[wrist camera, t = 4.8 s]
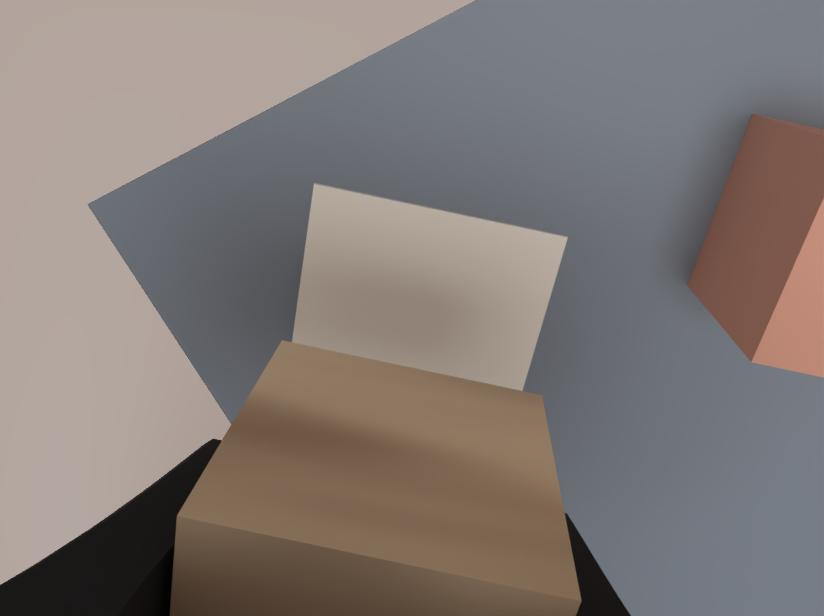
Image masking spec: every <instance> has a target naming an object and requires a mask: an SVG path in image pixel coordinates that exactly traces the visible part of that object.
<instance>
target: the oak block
mask: <svg viewBox="0 0 824 616" xmlns="http://www.w3.org/2000/svg"><path fill="white" fill-rule="evenodd" d="M580 604H581V596H580V590H579V585H578V580H577V575H576V570H575V564H574V559H573V554H572V549H571V544H570V538H569V533H568V528H567V523H566V517H565V512H564V507H563V502H562V497H561V491H560V486H559V481H558V476H557V471H556V465H555V460H554V455H553V450H552V445H551V439H550V434H549V429H548V424H547V418H546V413H545V408H544V403H543V398H542V395H539V394H534V393H530V392H525V391H520V390H515V389H511V388H506V387H501V386H496V385H492V384H487V383H482V382H477V381H473V380H468V379H463V378H459V377H454V376H449V375H444V374H440V373H435V372H430V371H425V370H421V369H416V368H411V367H406V366H402V365H397V364H392V363H387V362H383V361H378V360H373V359H368V358H364V357H359V356H354V355H349V354H345V353H340V352H335V351H330V350H326V349H321V348H316V347H312V346H307V345H302V344H297V343H293V342H288V341H283V340H282V341H281V343H280V344H279V346H278V348H277V350H276V351H275V353H274V355H273V356H272V358H271V360H270V361H269V363H268V365H267V366H266V368H265V370H264V371H263V373H262V375H261V376H260V378H259V380H258V381H257V383H256V385H255V386H254V388H253V390H252V391H251V393H250V395H249V396H248V398H247V400H246V401H245V403H244V405H243V406H242V408H241V410H240V411H239V413H238V415H237V416H236V418H235V420H234V421H233V423H232V425H231V426H230V428H229V430H228V432H227V433H226V435H225V437H224V438H223V440H222V441H221V443H220V445H219V446H218V448H217V450H216V451H215V453H214V455H213V456H212V458H211V460H210V461H209V463H208V465H207V466H206V468H205V470H204V471H203V473H202V475H201V476H200V478H199V480H198V481H197V483H196V485H195V486H194V488H193V490H192V491H191V493H190V495H189V497H188V498H187V500H186V502H185V503H184V505H183V507H182V508H181V510H180V512H179V513H178V515H177V521H176V535H175V548H174V562H173V576H172V590H171V604H170V616H576V614H577V612H578V609H579V606H580Z"/></svg>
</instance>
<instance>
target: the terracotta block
mask: <svg viewBox="0 0 824 616" xmlns="http://www.w3.org/2000/svg"><path fill="white" fill-rule="evenodd" d="M687 286H688V287H689V288H690V289H691V291H692V292H693V293H694V294H695V295H696V297H697V298H698V299H699V300H700V301H701V303H702V304H703V305H704V306H705V307H706V309H707V310H708V311H709V312H710V313H711V314H712V316H713V317H714V318H715V319H716V320H717V322H718V323H719V324H720V325H721V326H722V328H723V329H724V330H725V331H726V332H727V334H728V335H729V336H730V337H731V338H732V340H733V341H734V342H735V343H736V344H737V346H738V347H739V348H740V349H741V350H742V352H743V353H744V354H745V355H746V356H747V358H748V359H749V360H750V361H751V362H752V363H757V364H762V365H767V366H771V367H776V368H781V369H786V370H790V371H795V372H800V373H805V374H809V375H814V376H819V377H823V378H824V129H822V128H817V127H813V126H808V125H803V124H799V123H794V122H789V121H784V120H780V119H775V118H770V117H765V116H761V115H756V114H752V116H751V119H750V121H749V124H748V126H747V129H746V132H745V134H744V137H743V140H742V142H741V145H740V148H739V150H738V153H737V155H736V158H735V161H734V163H733V166H732V169H731V171H730V174H729V177H728V179H727V182H726V184H725V187H724V190H723V192H722V195H721V198H720V200H719V203H718V206H717V208H716V211H715V213H714V216H713V219H712V221H711V224H710V227H709V229H708V232H707V235H706V237H705V240H704V242H703V245H702V248H701V250H700V253H699V256H698V258H697V261H696V264H695V266H694V269H693V271H692V274H691V277H690V279H689V282H688V285H687Z"/></svg>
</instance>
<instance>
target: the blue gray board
mask: <svg viewBox="0 0 824 616" xmlns="http://www.w3.org/2000/svg"><path fill="white" fill-rule="evenodd" d="M752 114H756V115H761V116H765V117H770V118H775V119H780V120H784V121H789V122H794V123H799V124H803V125H808V126H813V127H817V128H822V129H824V0H476V1H474V2H472V3H470V4H468V5H466V6H464V7H462V8H460V9H459V10H457V11H455V12H453V13H451V14H449V15H447V16H445V17H443V18H441V19H440V20H438V21H436V22H434V23H432V24H430V25H428V26H426V27H424V28H422V29H420V30H418V31H417V32H415V33H413V34H411V35H409V36H407V37H406V38H403V39H401V40H400V41H398V42H396V43H394V44H392V45H390V46H388V47H386V48H384V49H382V50H381V51H379V52H377V53H375V54H373V55H371V56H369V57H367V58H365V59H363V60H361V61H360V62H358V63H356V64H354V65H352V66H350V67H348V68H346V69H344V70H342V71H341V72H339V73H337V74H335V75H333V76H331V77H329V78H327V79H325V80H324V81H322V82H320V83H318V84H316V85H314V86H312V87H310V88H308V89H306V90H304V91H302V92H301V93H299V94H297V95H295V96H293V97H291V98H289V99H287V100H285V101H283V102H281V103H280V104H278V105H276V106H274V107H272V108H270V109H268V110H266V111H265V112H263V113H261V114H259V115H257V116H255V117H253V118H251V119H249V120H247V121H245V122H243V123H241V124H240V125H238V126H236V127H234V128H232V129H230V130H228V131H226V132H224V133H222V134H221V135H219V136H217V137H215V138H213V139H211V140H209V141H207V142H205V143H204V144H202V145H200V146H198V147H196V148H194V149H192V150H190V151H188V152H186V153H184V154H183V155H181V156H179V157H177V158H175V159H173V160H171V161H169V162H167V163H166V164H163V165H161V166H160V167H158V168H156V169H154V170H152V171H150V172H148V173H146V174H144V175H142V176H141V177H139V178H137V179H135V180H133V181H131V182H129V183H127V184H125V185H123V186H122V187H120V188H118V189H116V190H114V191H112V192H110V193H108V194H107V195H104V196H102V197H101V198H99V199H97V200H95V201H93V202H91V203H89V204H88V206H89V207H90V209H91V210H92V212H93V213H94V215H95V216H96V218H97V220H98V221H99V223H100V224H101V226H102V227H103V229H104V230H105V232H106V233H107V235H108V236H109V238H110V239H111V241H112V243H113V244H114V246H115V247H116V249H117V250H118V252H119V253H120V255H121V256H122V257H123V259H124V261H125V262H126V264H127V265H128V267H129V268H130V270H131V272H132V273H133V275H134V276H135V278H136V279H137V280H138V282H139V284H140V285H141V287H142V288H143V290H144V291H145V293H146V294H147V296H148V297H149V299H150V301H151V302H152V303H153V305H154V307H155V308H156V310H157V311H158V313H159V314H160V315H161V317H162V319H163V320H164V322H165V323H166V325H167V326H168V328H169V330H170V331H171V333H172V334H173V336H174V337H175V339H176V340H177V342H178V343H179V345H180V346H181V348H182V349H183V351H184V352H185V354H186V355H187V357H188V359H189V360H190V362H191V363H192V365H193V366H194V368H195V369H196V371H197V372H198V374H199V375H200V377H201V378H202V380H203V381H204V383H205V384H206V386H207V387H208V389H209V391H210V392H211V394H212V395H213V397H214V398H215V400H216V401H217V403H218V404H219V406H220V407H221V409H222V410H223V412H224V414H225V415H226V416H227V418H228V420H229V421H230V423H231V424H232V423H233V421H234V420H235V418H236V416H237V415H238V413H239V411H240V410H241V408H242V406H243V405H244V403H245V401H246V400H247V398H248V396H249V395H250V393H251V391H252V390H253V388H254V386H255V385H256V383H257V381H258V380H259V378H260V376H261V375H262V373H263V371H264V370H265V368H266V366H267V365H268V363H269V361H270V360H271V358H272V356H273V355H274V353H275V351H276V350H277V348H278V346H279V344H280V343H281V341H282V340H283V341H288V342H293V343H297V344H302V345H307V346H312V347H316V348H321V349H326V350H330V351H335V352H340V353H345V354H349V355H354V356H359V357H364V358H368V359H373V360H378V361H383V362H387V363H392V364H397V365H402V366H406V367H411V368H416V369H421V370H425V371H430V372H435V373H440V374H444V375H449V376H454V377H459V378H463V379H468V380H473V381H477V382H482V383H487V384H492V385H496V386H501V387H506V388H511V389H515V390H520V391H525V392H530V393H534V394H539V395H542V398H543V403H544V408H545V413H546V418H547V424H548V429H549V434H550V439H551V445H552V450H553V455H554V460H555V465H556V471H557V476H558V481H559V486H560V491H561V497H562V502H563V507H564V512H565V513H567V514H568V516H569V517H570V519H571V520H572V522H573V524H574V525H575V527H576V528H577V530H578V532H579V533H580V535H581V537H582V538H583V540H584V541H585V543H586V545H587V546H588V548H589V550H590V551H591V553H592V555H593V556H594V558H595V560H596V561H597V563H598V564H599V566H600V568H601V569H602V571H603V573H604V574H605V576H606V577H607V579H608V581H609V582H610V584H611V585H612V587H613V589H614V590H615V592H616V593H617V595H618V597H619V598H620V600H621V601H622V603H623V604H624V606H625V607H626V609H627V611H628V612H629V614H630V615H631V616H824V378H823V377H819V376H814V375H809V374H805V373H800V372H795V371H790V370H786V369H781V368H776V367H771V366H767V365H762V364H757V363H752V362H751V361H750V360H749V359H748V358H747V356H746V355H745V354H744V353H743V352H742V350H741V349H740V348H739V347H738V346H737V344H736V343H735V342H734V341H733V340H732V338H731V337H730V336H729V335H728V334H727V332H726V331H725V330H724V329H723V328H722V326H721V325H720V324H719V323H718V322H717V320H716V319H715V318H714V317H713V316H712V314H711V313H710V312H709V311H708V310H707V309H706V307H705V306H704V305H703V304H702V303H701V301H700V300H699V299H698V298H697V297H696V295H695V294H694V293H693V292H692V291H691V289H690V288H689V287H688V286H687V285H688V282H689V279H690V277H691V274H692V271H693V269H694V266H695V264H696V261H697V258H698V256H699V253H700V250H701V248H702V245H703V242H704V240H705V237H706V235H707V232H708V229H709V227H710V224H711V221H712V219H713V216H714V213H715V211H716V208H717V206H718V203H719V200H720V198H721V195H722V192H723V190H724V187H725V184H726V182H727V179H728V177H729V174H730V171H731V169H732V166H733V163H734V161H735V158H736V155H737V153H738V150H739V148H740V145H741V142H742V140H743V137H744V134H745V132H746V129H747V126H748V124H749V121H750V119H751V116H752Z"/></svg>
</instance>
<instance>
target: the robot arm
mask: <svg viewBox="0 0 824 616" xmlns="http://www.w3.org/2000/svg"><path fill="white" fill-rule="evenodd" d="M220 443H221V440H217V439H212V440H210V441H209V442H207V443H205V444H204V445H203V446H201V447H200V448H199V449H198V450H196V451H195V452H194V453H193V454H191V455H190V456H189V457H187V458H186V459H185V460H184V461H182V462H181V463H180V464H178V465H177V466H176V467H175V468H173V469H172V470H171V471H169V472H168V473H167V474H165V475H164V476H163V477H161V479H159V480H158V481H156V482H155V483H154V484H152V485H151V486H150V487H148V488H147V489H146V490H144V491H143V492H142V493H140V494H139V495H137V496H136V497H135V498H133V499H132V500H130V501H129V502H128V503H126V504H125V505H123V506H122V507H121V508H119V509H118V510H117V511H115V512H114V513H112V514H111V515H109V516H108V517H107V518H105V519H104V520H102V521H101V522H99V523H98V524H97V525H95V526H94V527H92V528H91V529H90V530H88V531H86V532H85V533H83V534H81V535H80V536H78V537H77V538H75V539H74V540H72V541H71V542H69V543H67V544H66V545H64V546H63V547H61V548H60V549H58V550H57V551H55V552H54V553H52V554H50V555H49V556H47V557H46V558H44V559H43V560H41V561H40V562H38V563H36V564H35V565H33V566H32V567H30V568H28V569H27V570H25V571H23V572H22V573H20V574H18V575H16V576H15V577H13V578H11V579H10V580H8V581H6V582H5V583H3V584H1V585H0V616H170V604H171V590H172V576H173V562H174V548H175V535H176V521H177V515H178V513H179V512H180V510H181V508H182V507H183V505H184V503H185V502H186V500H187V498H188V497H189V495H190V493H191V491H192V490H193V488H194V486H195V485H196V483H197V481H198V480H199V478H200V476H201V475H202V473H203V471H204V470H205V468H206V466H207V465H208V463H209V461H210V460H211V458H212V456H213V455H214V453H215V451H216V450H217V448H218V446H219V445H220ZM565 517H566V523H567V528H568V533H569V538H570V544H571V549H572V554H573V559H574V564H575V570H576V575H577V580H578V585H579V590H580V596H581V604H580V606H579V609H578V612H577V614H576V616H631V615H630V614H629V612H628V611H627V609H626V607H625V606H624V604H623V603H622V601H621V600H620V598H619V597H618V595H617V593H616V592H615V590H614V589H613V587H612V585H611V584H610V582H609V581H608V579H607V577H606V576H605V574H604V573H603V571H602V569H601V568H600V566H599V564H598V563H597V561H596V560H595V558H594V556H593V555H592V553H591V551H590V550H589V548H588V546H587V545H586V543H585V541H584V540H583V538H582V537H581V535H580V533H579V532H578V530H577V528H576V527H575V525H574V524H573V522H572V520H571V519H570V517H569V516H568V514H567V513H565Z"/></svg>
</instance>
